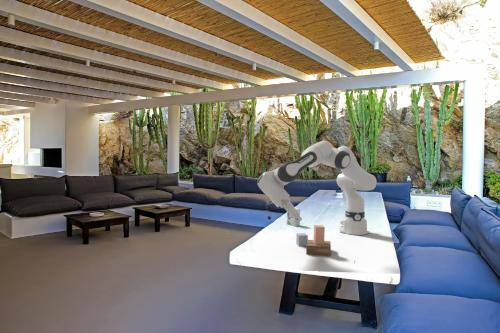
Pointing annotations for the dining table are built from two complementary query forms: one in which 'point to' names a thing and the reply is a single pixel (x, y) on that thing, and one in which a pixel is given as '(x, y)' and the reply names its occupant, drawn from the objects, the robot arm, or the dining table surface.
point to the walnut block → (318, 248)
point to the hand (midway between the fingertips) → (299, 218)
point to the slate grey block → (301, 239)
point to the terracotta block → (319, 234)
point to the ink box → (293, 219)
